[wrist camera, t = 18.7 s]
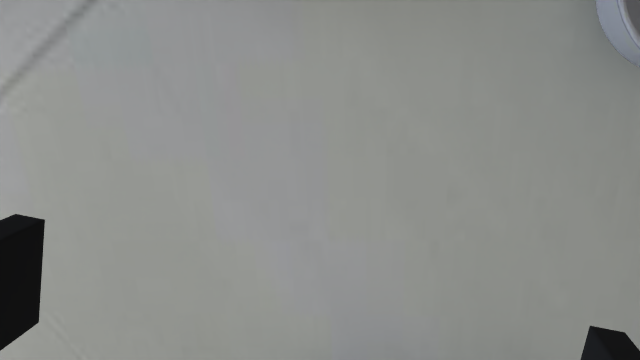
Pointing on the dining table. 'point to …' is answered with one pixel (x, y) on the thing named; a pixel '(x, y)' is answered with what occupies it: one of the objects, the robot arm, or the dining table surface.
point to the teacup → (622, 26)
